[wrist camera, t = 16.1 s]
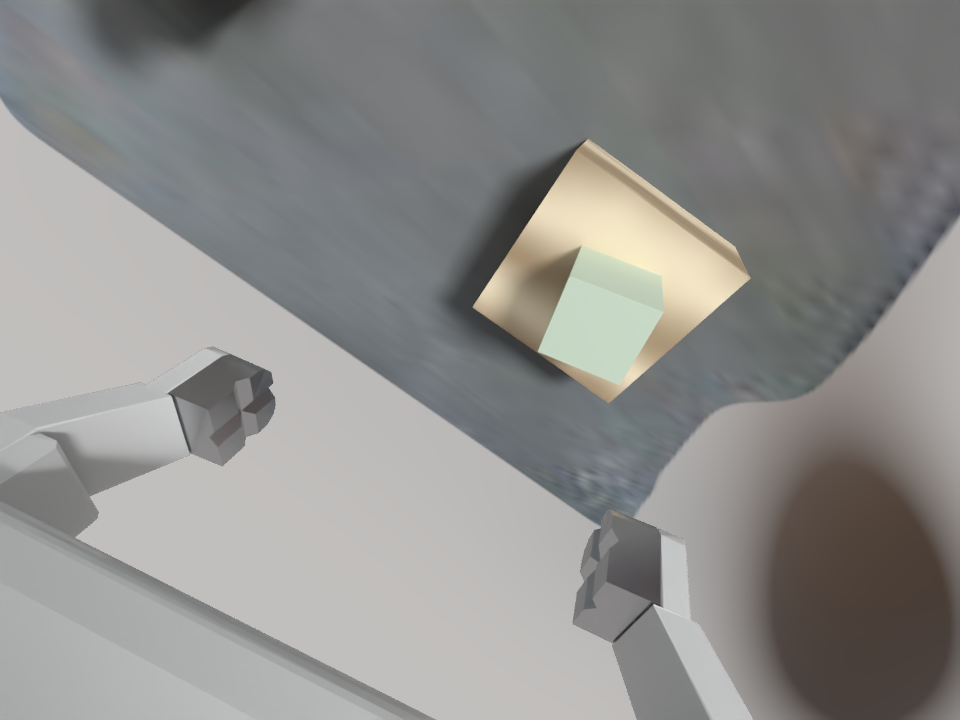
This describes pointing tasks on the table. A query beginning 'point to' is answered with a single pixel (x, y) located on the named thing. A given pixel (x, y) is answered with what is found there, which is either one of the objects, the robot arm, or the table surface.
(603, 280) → the sage cube
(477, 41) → the table surface
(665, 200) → the beech block
